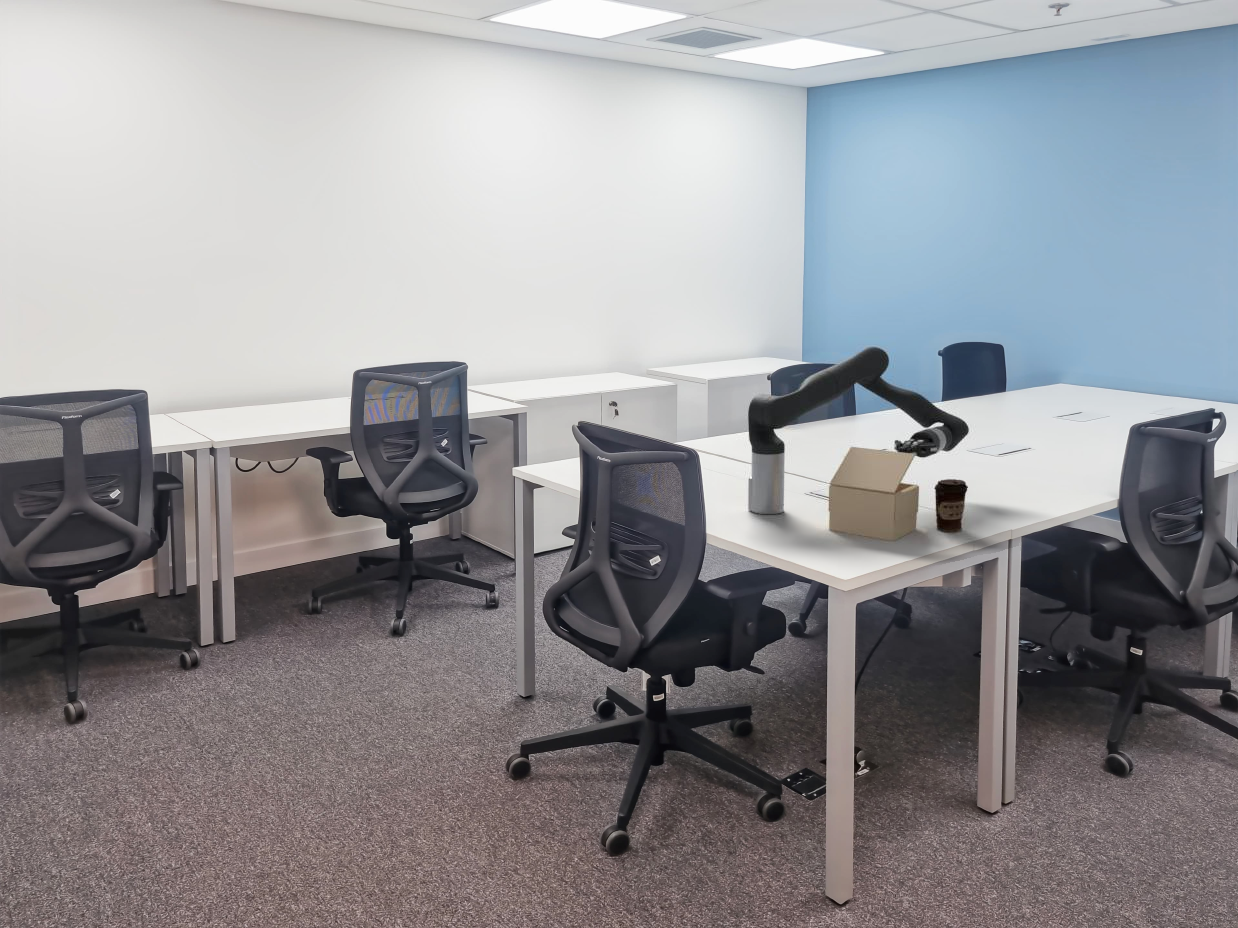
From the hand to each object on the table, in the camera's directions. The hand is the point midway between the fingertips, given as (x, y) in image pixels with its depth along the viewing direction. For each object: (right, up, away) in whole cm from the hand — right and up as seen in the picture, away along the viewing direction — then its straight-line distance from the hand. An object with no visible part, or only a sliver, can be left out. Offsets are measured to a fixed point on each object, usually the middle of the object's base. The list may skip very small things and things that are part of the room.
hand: (901, 451), depth 275 cm
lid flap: (-11, -5, -13) cm, 18 cm away
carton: (-10, -21, -9) cm, 25 cm away
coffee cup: (+10, -21, -10) cm, 25 cm away
